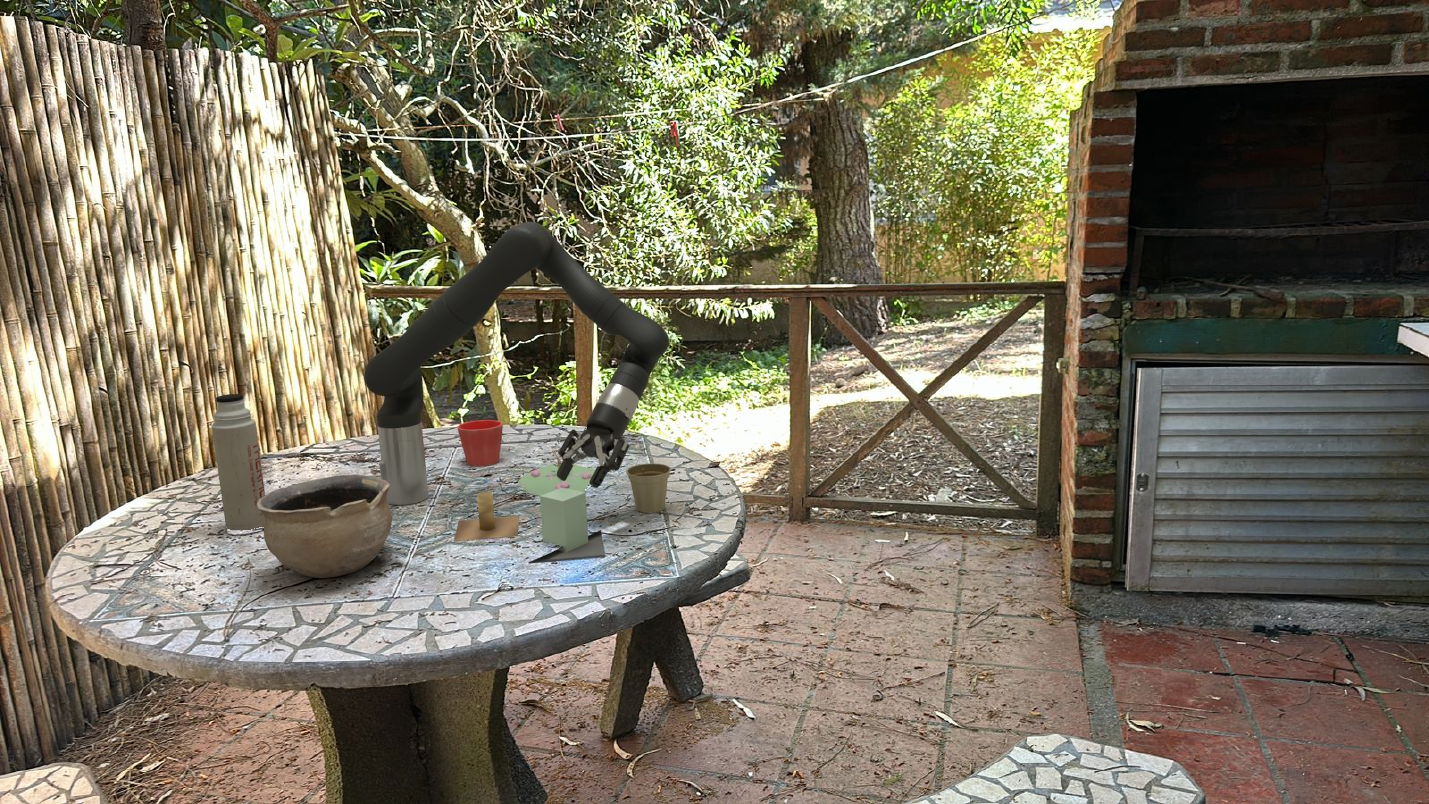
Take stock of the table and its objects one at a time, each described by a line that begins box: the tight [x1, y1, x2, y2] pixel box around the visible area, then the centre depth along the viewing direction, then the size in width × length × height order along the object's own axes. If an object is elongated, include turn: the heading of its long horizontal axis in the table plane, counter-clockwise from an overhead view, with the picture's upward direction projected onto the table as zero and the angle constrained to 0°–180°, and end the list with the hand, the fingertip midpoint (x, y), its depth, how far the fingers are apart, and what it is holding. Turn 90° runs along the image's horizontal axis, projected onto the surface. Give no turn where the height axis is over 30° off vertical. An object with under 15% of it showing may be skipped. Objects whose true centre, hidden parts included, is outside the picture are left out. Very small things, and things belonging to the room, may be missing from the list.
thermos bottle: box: [211, 393, 266, 530], centre depth 198 cm, size 8×8×28 cm
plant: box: [517, 443, 596, 497], centre depth 225 cm, size 25×21×9 cm
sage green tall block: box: [539, 488, 589, 552], centre depth 185 cm, size 6×6×10 cm
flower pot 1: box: [457, 419, 504, 467], centre depth 244 cm, size 11×11×10 cm
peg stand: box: [453, 491, 520, 542], centre depth 193 cm, size 12×12×8 cm
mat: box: [527, 529, 606, 564], centre depth 187 cm, size 14×14×1 cm
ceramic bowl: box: [257, 474, 393, 579], centre depth 177 cm, size 22×22×15 cm
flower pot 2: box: [625, 462, 672, 514], centre depth 206 cm, size 9×9×9 cm
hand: (576, 482), depth 188 cm, fingers open, 8 cm apart
